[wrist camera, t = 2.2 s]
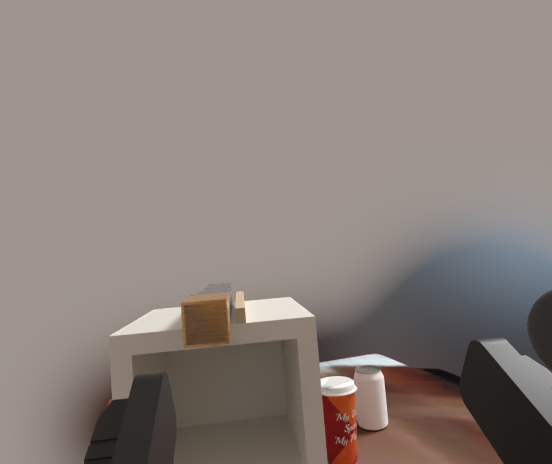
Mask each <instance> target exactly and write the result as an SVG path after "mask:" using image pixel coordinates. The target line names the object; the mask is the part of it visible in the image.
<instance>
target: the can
mask: <svg viewBox="0 0 552 464" xmlns="http://www.w3.org/2000/svg"><path fill="white" fill-rule="evenodd" d="M354 385H355V386H356V387H357V390H356V391H355V398H356V409H357V420H358V425H359V426H360V427H361V428H363V429H365V430H370V431H378V430H382V429H384V428H386V427H387V425H388V416H387V405H386V395H385V385H384V376H383V374H382V372H381V368H380V367H378V366H372V365H365V366H359V367H357V368H355V374H354Z"/></svg>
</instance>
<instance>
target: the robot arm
mask: <svg viewBox="0 0 552 464" xmlns="http://www.w3.org/2000/svg"><path fill="white" fill-rule="evenodd" d="M527 329H528V335H529V339H530V342H531V344H532V346H533V348H534V350H535V351H536V353H537V355H538V356H539V357H540V359H541V360H542V361H543V362H544V363H545V364H546V366H548V367H549V368H550V369H551V370H552V290H551V291H549V292H547V293H545V294H544V295H542V296H541V297H540V298H539V299H538V300H537V301H536V302H535V304H534V305H533V307H532V309H531V311H530V313H529V317H528V323H527ZM460 392H461V396H462V399H463V401H464V403H465V405H466V407H467V408H468V410H469V411H470V413H471V414H472V416H473V418H474V419H475V421H476V422H477V424H478V425H479V427H480V428H481V430H482V431H483V433H484V434H485V436H486V437H487V439H488V440H489V442H490V443H491V445H492V446H493V448H494V449H495V451H496V452H497V454H498V456H499V457H500V459H501V460H502V462H503V463H504V464H552V373H551V372H550V371H549V370H548V369H546V368H545V367H543V366H542V365H540V364H539V363H537V362H536V361H534V360H532V359H531V358H529V357H528V356H526V355H524V356H521V355H520V354H519V353H518V352H517V351H516V350H515V349H514V348H513V347H512V346H511V345H510V343H509V342H508V341H506V340H505V339H503V338H490V339H480V340H473V341H471V342H470V344H469V346H468V350H467V355H466V358H465V363H464V366H463V370H462V375H461V379H460ZM176 432H177V424H176V413H175V407H174V402H173V397H172V392H171V387H170V382H169V377H168V374H167V372H158V373H149V374H139V375H135V377H134V379H133V382H132V386H131V390H130V393H129V397H128V398H126V399H117V400H112V402H111V403H110V404H109V406H108V407H107V408H106V409H105V411H104V412H103V413H102V415H101V416H100V417H99V418H98V420H97V423H96V426H95V429H94V432H93V436H92V438H91V444H90V446H89V447H88V450H87V453H86V456H85V459H84V464H173V461H174V452H175V444H176Z"/></svg>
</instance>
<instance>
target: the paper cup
mask: <svg viewBox="0 0 552 464" xmlns="http://www.w3.org/2000/svg"><path fill="white" fill-rule="evenodd" d="M356 390H357V387H356V386H355V385H354V381H353V380H352V379H350V378H347V377H341V376H333V377H326V378H323V379H321V391H322V402H323V414H324V426H325V437H326V449H327V460H328V462H329V463H330V464H354V463H355V462H356V461H357V426H356V398H355V391H356Z"/></svg>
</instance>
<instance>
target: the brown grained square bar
mask: <svg viewBox="0 0 552 464" xmlns="http://www.w3.org/2000/svg"><path fill="white" fill-rule="evenodd" d="M232 305H233V304H232V290H231V283H221V284H210V285H208V286H206V287H205V288H204V289H203V290H202V291H200V292H199V293H198V294H197V295H192V296H189V297H188V298H187V299H185V300H184V301H183V302H181V313H182V328H183V343H184V349H185V348H195V347H205V346H215V345H225V344H230V336H231V320H230V318H231V312H232Z"/></svg>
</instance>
